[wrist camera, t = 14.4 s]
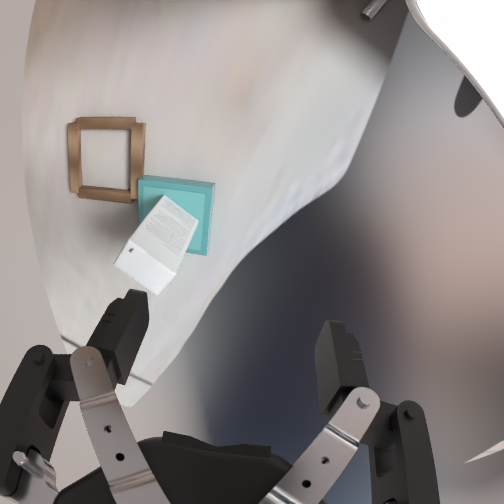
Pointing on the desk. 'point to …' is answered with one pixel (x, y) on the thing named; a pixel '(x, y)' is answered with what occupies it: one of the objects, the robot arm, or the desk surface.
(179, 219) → the skincare box
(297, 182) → the desk surface
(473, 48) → the monitor stand
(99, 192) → the wooden square frame
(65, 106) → the desk surface
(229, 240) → the desk surface
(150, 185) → the tile
